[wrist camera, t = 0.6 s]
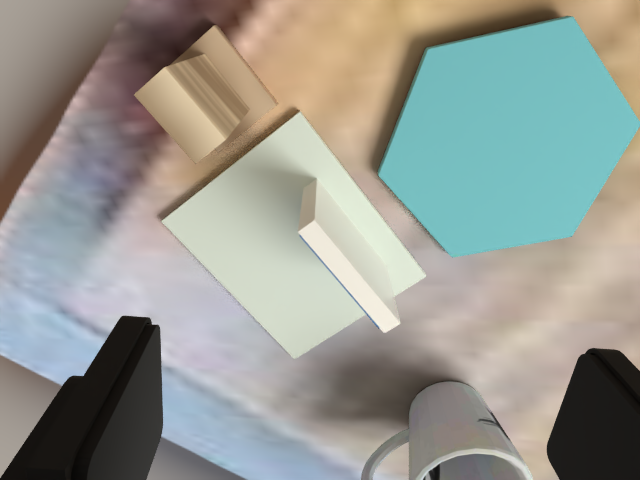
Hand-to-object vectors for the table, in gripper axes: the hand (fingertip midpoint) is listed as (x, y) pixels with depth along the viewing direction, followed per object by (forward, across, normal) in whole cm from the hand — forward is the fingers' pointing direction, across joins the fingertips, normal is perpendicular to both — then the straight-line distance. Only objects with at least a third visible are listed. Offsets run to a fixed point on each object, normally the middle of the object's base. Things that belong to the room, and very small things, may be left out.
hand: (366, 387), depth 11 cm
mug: (+31, -14, +28) cm, 44 cm away
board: (+31, +1, +11) cm, 33 cm away
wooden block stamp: (+31, +8, -2) cm, 32 cm away
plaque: (+31, -14, 0) cm, 34 cm away
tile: (+31, -3, +8) cm, 32 cm away
